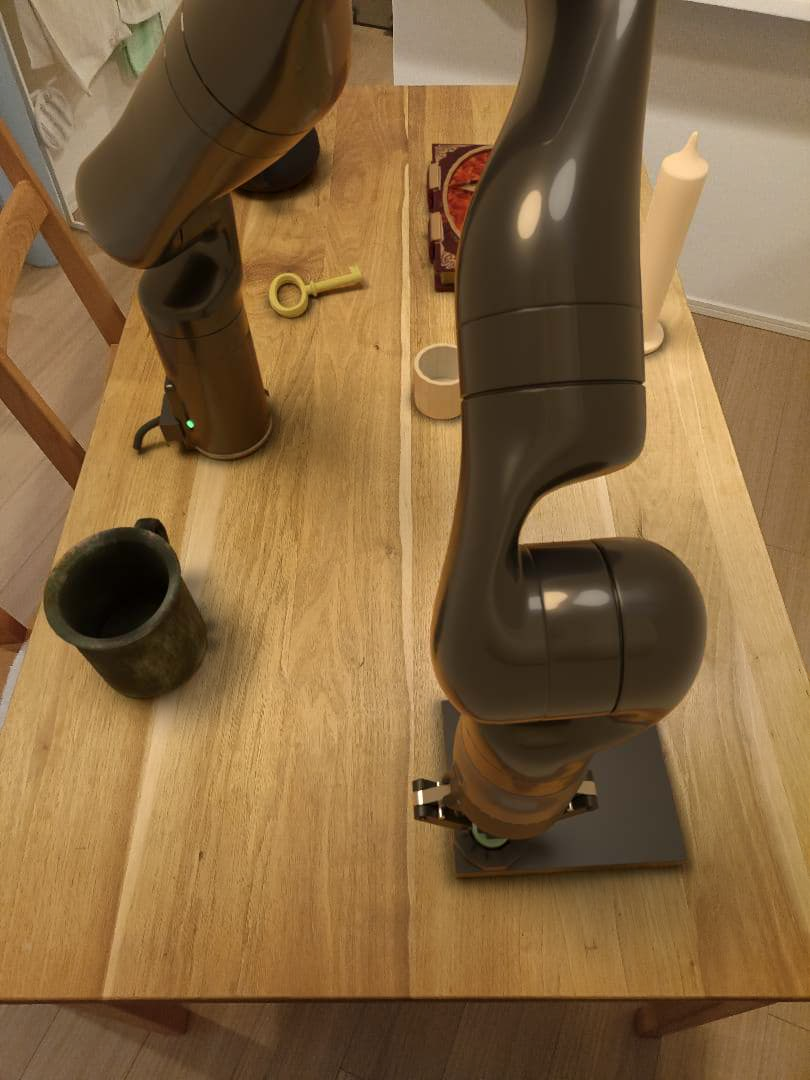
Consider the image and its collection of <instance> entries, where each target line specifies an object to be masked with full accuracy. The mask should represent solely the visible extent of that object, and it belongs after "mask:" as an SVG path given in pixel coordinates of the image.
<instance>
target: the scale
mask: <svg viewBox="0 0 810 1080" xmlns="http://www.w3.org/2000/svg"><path fill="white" fill-rule="evenodd" d="M461 714H462V713H460V712H459V711H458V710H457V709H456V708H455V707H454V706H453V705H452V704H451V703H450V701H449V700H448V699H446V700H445V699H443V700H441V702H440V718H441V728H442V730H441V731H442V741H443V755H444V766H445V774H446V773H448V772H450V771H451V765H452V757H453V748H454V740H455V733H456V728H457V724H458V721H459V718H460V716H461ZM656 724H657V723H656ZM656 724H654V725H653V726H651V727H649V728H648V729H646V730H644V731H642V732H640V733H638V734H637V735H635V736H633V737H631V738H629V739H627V740H625V741H623V742H621V743H619V744H618V745H616V746H614V747H611V748H609V749H606V750H604V751H601V752H599V753H596V754H595V755H594V756H593V758H592V760H591V761H590V765H589V769H588V770H592V772H593V778H594V783H595V789H596V794H597V799H598V805H599V808H598V809H596V810H594V811H591V812H586V813H582V814H579V815H576V816H573V817H569V818H566V819H563V820H559V821H557V822H556V823H555V824H554V825H553V826H552V827H550V828H549V829H548V830H546V831H545V832H543V833H541V834H539V835H536V836H534V837H530V838H526V839H508V840H507V842H506V843H505V844H504V845H503V846H502V847H501V848H499V849H496V850H486V849H483V848H482V847H480V846H479V845H478V844H477V843H476V842H475V841H474V839H473V837H472V833H471V829H470V830H468V831H465V832H462V831H461V830H455V829H451V828H449V829H450V842H451V855H452V866H453V867H452V868H453V878H454V879H462V878H478V877H479V878H480V877H495V876H496V877H498V876H511V875H512V876H513V875H515V876H516V875H529V874H531V875H532V874H549V873H550V874H551V873H564V872H565V873H566V872H583V871H600V870H601V871H602V870H603V871H604V870H617V869H618V870H619V869H621V870H622V869H635V868H651V867H653V868H654V867H670V866H671V867H672V866H681V865H683V864H685V863H686V862H688V856H687V852H686V848H685V844H684V840H683V835H682V830H681V827H680V826H681V825H680V823H679V818H678V813H677V810H676V806H675V802H674V801H675V800H674V797H673V793H672V788H671V784H670V780H669V775H668V771H667V767H666V763H665V759H664V755H663V751H662V746H661V741H660V738H659V737H660V736H659V734H658V730H657V729H658V728H657V725H656ZM454 811H455V810H454Z"/></svg>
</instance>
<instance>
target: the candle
mask: <svg viewBox="0 0 810 1080" xmlns="http://www.w3.org/2000/svg"><path fill="white" fill-rule="evenodd" d="M698 143H699V132H698V131H694V132H692V133H691V135H690V137H689V139H688V141H687V143H686V144H685V146H684V147H683V149H681V150H680V151H676V152H674V153H672V154H669V155H667V156H666V157H665V158H664V159H663V160H662V163H661V164H660V165H661V166H660V170H659V173H658V176H657V180H656V183H655V186H654V190H653V194H652V198H651V200H650V204H649V208H648V212H647V214H646V219H645V222H644V225H643V229H642V232H641V235H640V264H641V285H642V306H643V310H642V313H643V331H644V355H648V354H650V353H653V352H655V351H656V350H658V349H659V348H660V346H661V345H662V344H663V341H664V336H665V333H664V329H663V326H662V325H661V323H660V322H659V319H660V315H661V313H662V311H663V310H662V309H663V307H664V302H665V301H666V298H667V296H668V292H669V289H670V286H671V283H672V281H673V277H674V274H675V271H676V268H677V266H678V262H679V259H680V257H681V253H682V251H683V248H684V245H685V243H686V240H687V236H688V233H689V230H690V228H691V225H692V221H693V218H694V215H695V213H696V210H697V206H698V203H699V200H700V198H701V196H702V192H703V189H704V186H705V183H706V180H707V177H708V174H709V170H710V167H709V164H708V163H707V161H706V159H704V158H703V157H702V156H701V155H700V154H699V150H698V145H699V144H698Z"/></svg>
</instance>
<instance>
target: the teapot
mask: <svg viewBox="0 0 810 1080" xmlns="http://www.w3.org/2000/svg"><path fill="white" fill-rule="evenodd" d="M320 152H321V145H320V138H319V134H318V131H317V129H316V126H315V127H313V128H312V129H311V130H310V131H309V132H308V133H307V134H306V135H305V136H304V137H303V138H302V139H301V140H300V141H299V142H298V143H297V144H296V145H295V146H294V147H293V148H291V149H290V150H289V151H288V152H287V153H285V154H284V155H283V156H282V157H280V158H279V159H278V160H277V161H275V162H274V163H273V164H271V165H270V166H268V167H267V168H266V169H264V170H263V171H261V172H260V173H258V174H257V175H255V176H254V177H252V178H251V179H249V180H248V181H246V182H245V183H243V184H241V185H240V186H238V187H237V188H240V189H242V190H244V191H247V192H251V193H258V194H270V193H278V192H282V191H285V190H288V189H291V188H293V187H295V186H297V185H298V184H300V183H301V182H302V181H303V180H304V179H305V178H306V177H307V176H309V174H310V173H311V172H312V171H313V170H314V168H315V167H316V165H317V164H318V161H319V157H320Z"/></svg>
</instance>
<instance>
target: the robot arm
mask: <svg viewBox="0 0 810 1080" xmlns="http://www.w3.org/2000/svg"><path fill="white" fill-rule="evenodd" d="M523 2H524V12H525V45H524V56H523V61H522V67H521V72H520V75H519V79H518V82H517V86H516V89H515V92H514V94H513V98H512V102H511V105H510V107H509V109H508V112H507V114H506V116H505V119H504V121H503V124H502V126H501V129H500V130H499V132H498V135H497V137H496V139H495V142H494V144H493V145H494V146H493V148H492V150H491V152H490V155H489V157H488V159H487V161H486V163H485V166H484V168H483V170H482V173H481V175H480V178H479V180H478V182H477V185H476V187H475V189H474V192H473V194H472V197H471V200H470V203H469V206H468V209H467V212H466V214H465V218H464V222H463V226H462V230H461V234H460V239H459V245H458V250H457V257H456V268H455V290H454V319H455V320H454V322H455V330H456V331H455V337H456V345H457V355H458V371H459V387H460V398H461V399H463V400H462V401H461V415H460V423H461V424H460V427H461V429H460V430H461V431H460V432H461V433H460V434H461V435H460V436H461V437H460V439H461V440H460V441H461V442H460V443H461V444H460V461H459V462H460V463H459V473H458V474H459V475H458V483H457V490H456V491H457V492H456V498H455V505H454V513H453V518H452V523H451V529H450V533H449V539H448V543H447V547H446V551H445V556H444V561H443V564H442V568H441V571H440V576H439V581H438V586H437V589H436V594H435V599H434V603H433V608H432V615H431V621H430V631H429V632H430V633H429V653H430V660H431V664H432V668H433V669H432V670H433V672H434V676H435V678H436V681H437V683H438V685H439V687H440V689H441V691H442V692H443V694H444V695H445V697H446V698H447V700H449V701H450V703H451V704H452V705H453V706H454V707H455V708H456V709H457V710H458V711H459V712H460V713H462V714H461V716H460V718H459V721H458V724H457V728H456V733H455V740H454V748H453V757H452V765H451V771H450V772H448V773H446V772H445V773H444V775H443V776H442V779H441V780H437V781H433V780H430V779H426V778H423V777H422V778H417V779H415V780H412V781H411V787H412V788H411V789H412V794H411V795H412V796H411V797H412V808H413V819H414V820H415V821H418V822H423V823H427V824H430V825H434V826H438V827H442V828H446V829H447V828H448V829H450V828H451V829H455V830H461V831H462V832H465V831H468V830H470V829H473V824H472V823H474V824H475V825H476V826H477V833H479V834H486V839H503V838H505V839H526V838H530V837H534V836H536V835H539V834H541V833H543V832H545V831H546V830H548V829H549V828H550V827H552V826H553V825H554V824H555V823H556V822H557V821H559V820H563V819H566V818H569V817H573V816H576V815H579V814H582V813H586V812H591V811H594V810H596V809H598V808H599V805H598V799H597V794H596V789H595V783H594V778H593V772H592V770H588V769H589V765H590V761H591V760H592V758H593V756H594V755H595V754H596V753H599V752H601V751H604V750H606V749H609V748H611V747H614V746H616V745H618V744H619V743H621V742H623V741H625V740H627V739H629V738H631V737H633V736H635V735H637V734H638V733H640V732H642V731H644V730H646V729H648V728H649V727H651V726H653V725H654V724H658V723H659V722H661V721H662V720H663V719H665V718H666V717H667V716H668V715H669V714H670V713H672V712H673V711H674V710H675V709H676V708H677V707H678V706H679V705H680V704H681V703H682V702H683V700H684V699H685V697H686V696H687V695H688V693H689V692H690V690H691V688H692V686H693V685H694V683H695V681H696V679H697V677H698V675H699V673H700V670H701V667H702V666H703V665H702V664H703V661H704V658H705V653H706V648H707V642H708V641H707V640H708V615H707V614H708V613H707V609H706V604H705V599H704V596H703V593H702V591H701V588H700V586H699V583H698V581H697V580H696V578H695V576H694V574H693V573H692V571H691V570H690V568H689V567H688V566H687V565H686V563H685V562H684V561H682V559H681V558H679V557H678V556H677V555H676V554H675V553H674V552H673V551H672V550H670V549H668V548H667V547H666V546H663V545H662V544H660V543H658V542H655V541H652V540H648V539H645V538H641V537H632V536H631V537H630V536H612V537H611V536H610V537H598V538H597V537H596V538H588V539H577V540H576V539H575V540H561V541H560V540H558V541H546V542H545V541H544V542H530V543H529V542H528V543H523V544H522V543H520V538H521V533H522V530H523V528H524V525H525V523H526V521H527V519H528V517H529V515H530V513H531V512H532V511H533V509H534V508H535V507H536V506H537V505H538V503H539V502H540V501H541V500H542V499H543V498H544V497H546V496H547V495H549V494H551V493H553V492H556V491H559V490H560V489H563V488H565V487H569V486H571V485H572V486H573V485H575V484H579V483H582V482H585V481H589V480H594V479H597V478H601V477H604V476H607V475H611V474H613V473H617V472H619V471H622V470H624V469H625V468H627V467H629V466H630V465H632V464H633V463H634V462H636V460H638V458H639V457H640V456H641V454H642V452H643V450H644V447H645V443H646V435H647V424H648V423H647V389H646V387H647V386H645V385H644V384H645V382H646V363H645V362H646V361H645V354H644V331H643V313H642V310H643V306H642V285H641V264H640V239H641V191H642V165H643V150H644V148H643V147H644V135H645V133H644V132H645V124H646V123H645V122H646V111H647V102H648V101H647V100H648V92H649V84H650V83H649V82H650V75H651V66H652V59H653V50H654V49H653V48H654V41H655V32H656V26H657V25H656V24H657V15H658V6H659V0H523ZM353 14H354V13H353V0H181V1H180V3H179V5H178V6H177V8H176V10H175V11H174V14H173V15H172V17H171V18H170V20H169V23H168V25H167V27H166V29H165V32H164V34H163V36H162V38H161V40H160V42H159V44H158V46H157V48H156V50H155V52H154V54H153V55H152V57H151V58H150V61H149V63H148V64H147V66H146V67H145V70H144V71H143V73H142V75H141V77H140V79H139V80H138V83H137V84H136V86H135V89H134V90H133V92H132V94H131V96H130V99H129V101H128V102H127V104H126V106H125V108H124V110H123V112H122V113H121V116H120V117H119V119H118V120H117V122H116V123H115V124H114V126H113V127H112V128H111V130H110V131H109V132H108V133H107V134H106V135H105V136H104V137H103V138H102V140H101V141H100V142H99V143H98V145H97V146H95V148H94V149H92V151H91V152H90V153H89V154H88V155H87V156H86V157H85V158H83V160H82V161H81V163H80V165H79V166H78V168H77V171H76V176H75V180H74V193H75V194H74V196H75V202H76V207H77V209H78V214H79V216H80V219H81V221H82V223H83V226H84V228H85V229H86V232H87V234H88V235H89V236H90V238H91V239H92V241H93V242H94V244H96V246H97V247H98V248H99V249H100V250H101V251H102V252H103V253H104V254H106V255H107V256H108V257H109V258H111V259H112V260H114V261H116V262H117V263H119V264H121V265H123V266H126V267H127V268H131V269H135V270H143V271H142V273H141V275H140V277H139V279H138V283H137V289H136V290H137V291H136V293H137V301H138V303H139V304H138V305H139V307H140V310H141V312H142V315H143V317H144V320H145V323H146V325H147V328H148V331H149V333H150V335H151V339H152V342H153V343H154V346H155V349H156V352H157V354H158V357H159V359H160V362H161V365H162V368H163V370H164V373H165V377H164V384H163V391H164V393H163V396H162V403H161V409H160V414H159V415H158V416H155V417H154V418H152V419H151V420H148V421H146V422H145V423H144V424H142V425H141V426H140V427H139V428H138V429H137V430H136V432H135V435H134V438H133V444H132V449H134V450H136V451H140V450H141V449H142V446H143V440H144V438H145V436H146V434H147V433H148V432H150V431H151V430H153V429H154V428H157V427H159V429H160V431H161V434H162V436H163V438H164V441H165V442H180V441H181V442H183V443H184V444H185V445H184V446H185V447H186V450H187V451H197V452H198V453H200V454H201V455H203V456H205V457H208V458H210V459H214V460H226V461H227V460H235V459H236V460H237V459H241V458H243V457H246V456H249V455H250V454H252V453H254V452H256V451H257V450H259V449H260V448H261V447H263V445H264V444H265V443H266V442H267V440H269V437H270V435H271V434H272V430H273V426H274V425H273V423H274V422H273V417H272V412H271V410H270V407H269V403H268V400H267V399H268V398H271V397H270V393H269V390H267V389H266V388H265V385H264V382H263V378H262V373H261V369H260V366H259V365H260V364H259V360H258V357H257V352H256V348H255V343H254V340H253V339H254V338H253V335H252V330H251V326H250V323H249V319H248V315H247V309H246V306H245V305H246V304H245V302H244V298H243V297H244V296H243V292H242V285H243V282H244V275H245V274H244V273H245V271H244V264H243V257H242V252H241V245H240V239H239V231H238V226H237V220H236V212H235V207H234V203H233V197H232V193H231V191H234V190H235V189H237V188H239V187H238V186H240V185H241V184H243V183H245V182H246V181H248V180H249V179H251V178H252V177H254V176H255V175H257V174H258V173H260V172H261V171H263V170H264V169H266V168H267V167H268V166H270V165H271V164H273V163H274V162H275V161H277V160H278V159H279V158H280V157H282V156H283V155H284V154H285V153H287V152H288V151H289V150H290V149H291V148H293V147H294V146H295V145H296V144H297V143H298V142H299V141H300V140H301V139H302V138H303V137H304V136H305V135H306V134H307V133H308V132H309V131H310V130H311V129H312V128H313V127H315V128H316V126H317V125H318V124H319V123H320V122H321V121H322V120H323V119H324V118H325V117H326V116H327V115H328V113H329V112H330V111H331V110H332V108H333V107H334V106H335V105H336V103H337V101H338V100H339V99H340V97H341V96H342V94H343V92H344V88H345V86H346V84H347V81H348V79H349V75H350V72H351V65H352V60H353V59H352V58H353V55H354V15H353ZM267 397H268V398H267ZM454 810H455V811H454Z"/></svg>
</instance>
